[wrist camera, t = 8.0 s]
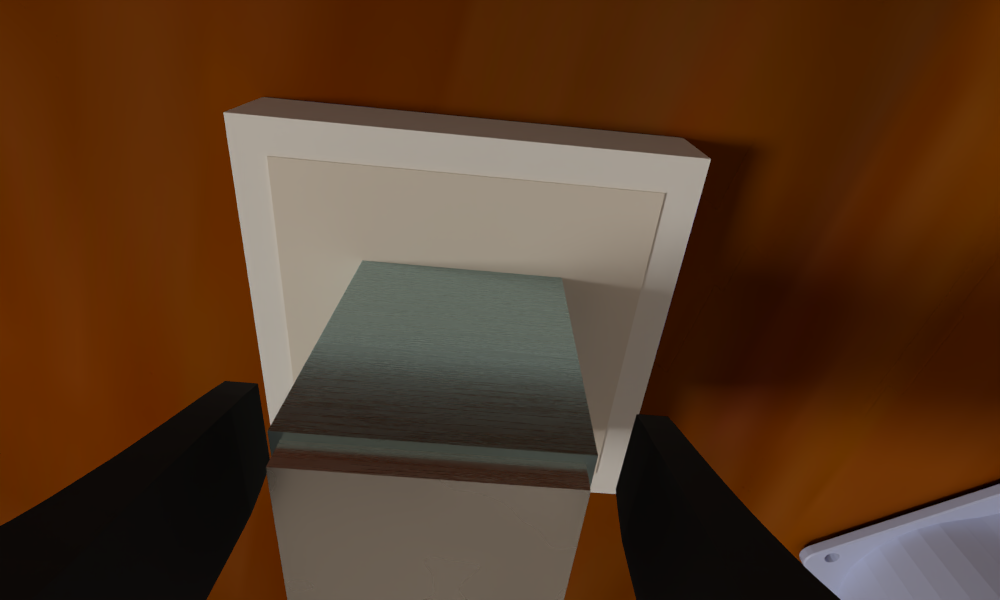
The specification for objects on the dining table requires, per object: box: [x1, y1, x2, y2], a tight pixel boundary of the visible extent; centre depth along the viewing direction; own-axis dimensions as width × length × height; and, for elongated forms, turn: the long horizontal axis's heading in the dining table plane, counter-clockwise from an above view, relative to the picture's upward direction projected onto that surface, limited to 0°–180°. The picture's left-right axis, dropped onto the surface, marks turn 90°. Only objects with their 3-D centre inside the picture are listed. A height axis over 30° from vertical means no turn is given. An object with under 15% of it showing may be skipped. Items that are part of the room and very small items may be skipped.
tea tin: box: [266, 260, 598, 600], centre depth 11 cm, size 5×5×6 cm
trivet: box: [223, 97, 711, 494], centre depth 14 cm, size 10×10×2 cm
